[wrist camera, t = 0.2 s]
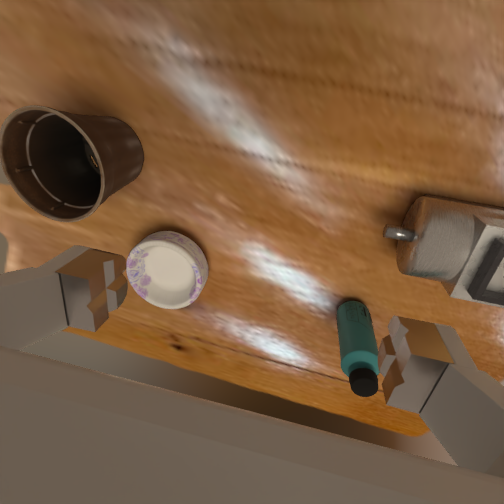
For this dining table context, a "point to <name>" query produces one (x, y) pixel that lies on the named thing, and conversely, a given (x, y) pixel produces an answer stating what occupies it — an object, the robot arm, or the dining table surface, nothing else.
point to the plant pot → (67, 160)
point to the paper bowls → (167, 269)
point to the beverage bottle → (358, 348)
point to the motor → (454, 247)
